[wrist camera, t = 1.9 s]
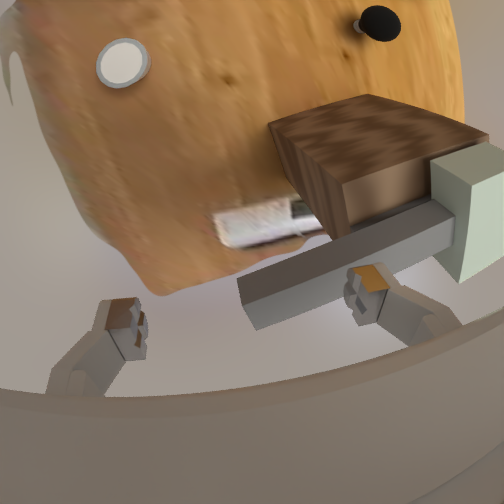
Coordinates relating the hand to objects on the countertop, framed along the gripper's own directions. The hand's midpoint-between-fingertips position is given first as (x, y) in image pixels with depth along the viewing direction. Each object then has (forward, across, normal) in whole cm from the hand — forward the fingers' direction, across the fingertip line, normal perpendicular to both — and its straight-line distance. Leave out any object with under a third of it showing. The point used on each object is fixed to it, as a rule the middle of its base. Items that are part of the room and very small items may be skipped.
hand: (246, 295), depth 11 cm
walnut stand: (+37, +19, -2) cm, 41 cm away
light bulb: (+37, +24, +17) cm, 47 cm away
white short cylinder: (+37, -10, +11) cm, 40 cm away
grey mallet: (+10, +13, -4) cm, 17 cm away
